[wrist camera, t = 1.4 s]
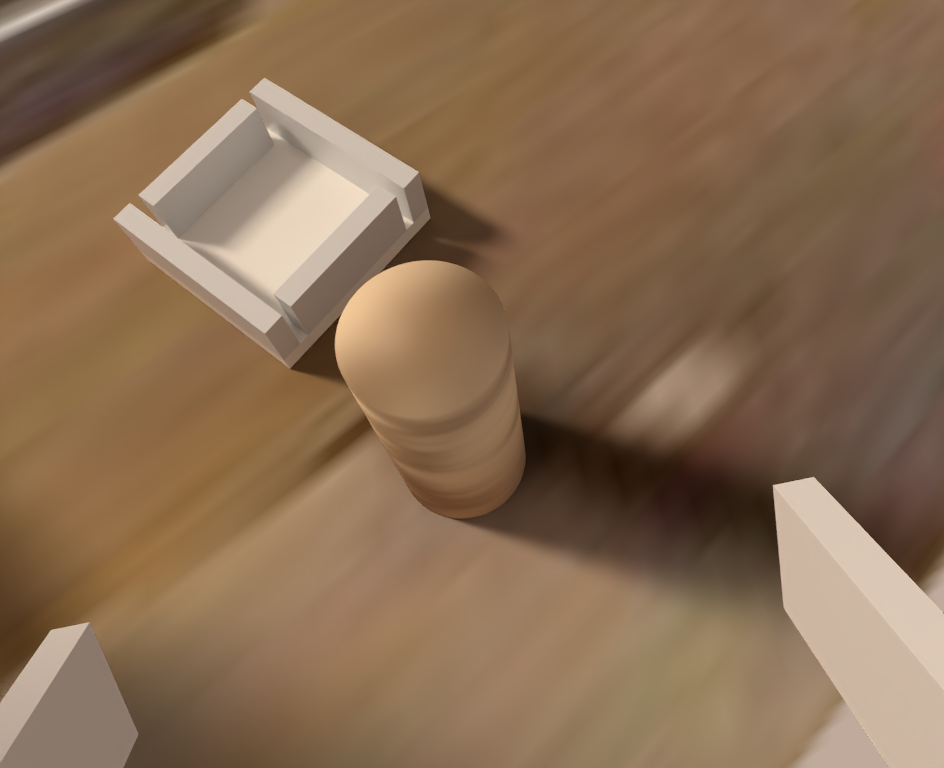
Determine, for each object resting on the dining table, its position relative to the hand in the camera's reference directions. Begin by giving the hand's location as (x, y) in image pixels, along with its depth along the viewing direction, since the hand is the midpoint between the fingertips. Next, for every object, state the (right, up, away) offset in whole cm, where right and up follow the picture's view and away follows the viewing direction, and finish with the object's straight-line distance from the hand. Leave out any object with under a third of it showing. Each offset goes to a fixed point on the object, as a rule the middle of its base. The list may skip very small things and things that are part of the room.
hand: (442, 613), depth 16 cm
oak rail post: (0, +1, +25) cm, 25 cm away
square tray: (-10, +12, +31) cm, 35 cm away
